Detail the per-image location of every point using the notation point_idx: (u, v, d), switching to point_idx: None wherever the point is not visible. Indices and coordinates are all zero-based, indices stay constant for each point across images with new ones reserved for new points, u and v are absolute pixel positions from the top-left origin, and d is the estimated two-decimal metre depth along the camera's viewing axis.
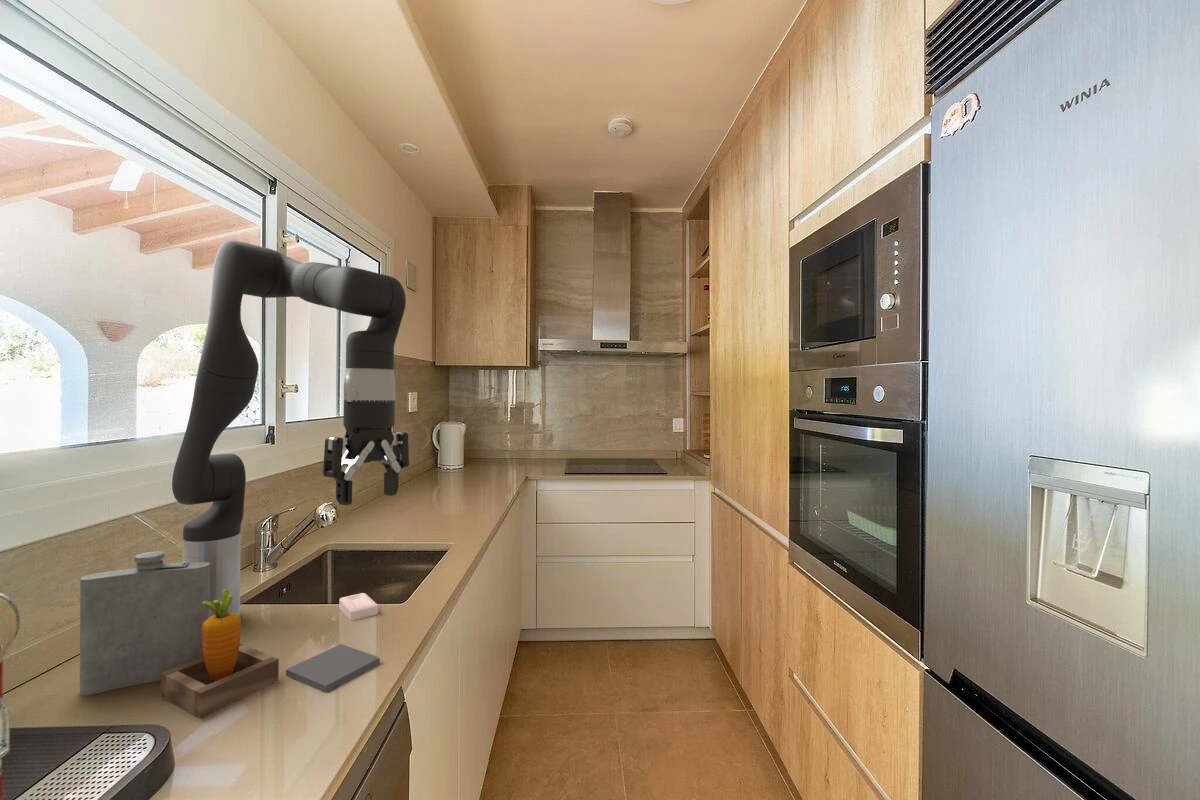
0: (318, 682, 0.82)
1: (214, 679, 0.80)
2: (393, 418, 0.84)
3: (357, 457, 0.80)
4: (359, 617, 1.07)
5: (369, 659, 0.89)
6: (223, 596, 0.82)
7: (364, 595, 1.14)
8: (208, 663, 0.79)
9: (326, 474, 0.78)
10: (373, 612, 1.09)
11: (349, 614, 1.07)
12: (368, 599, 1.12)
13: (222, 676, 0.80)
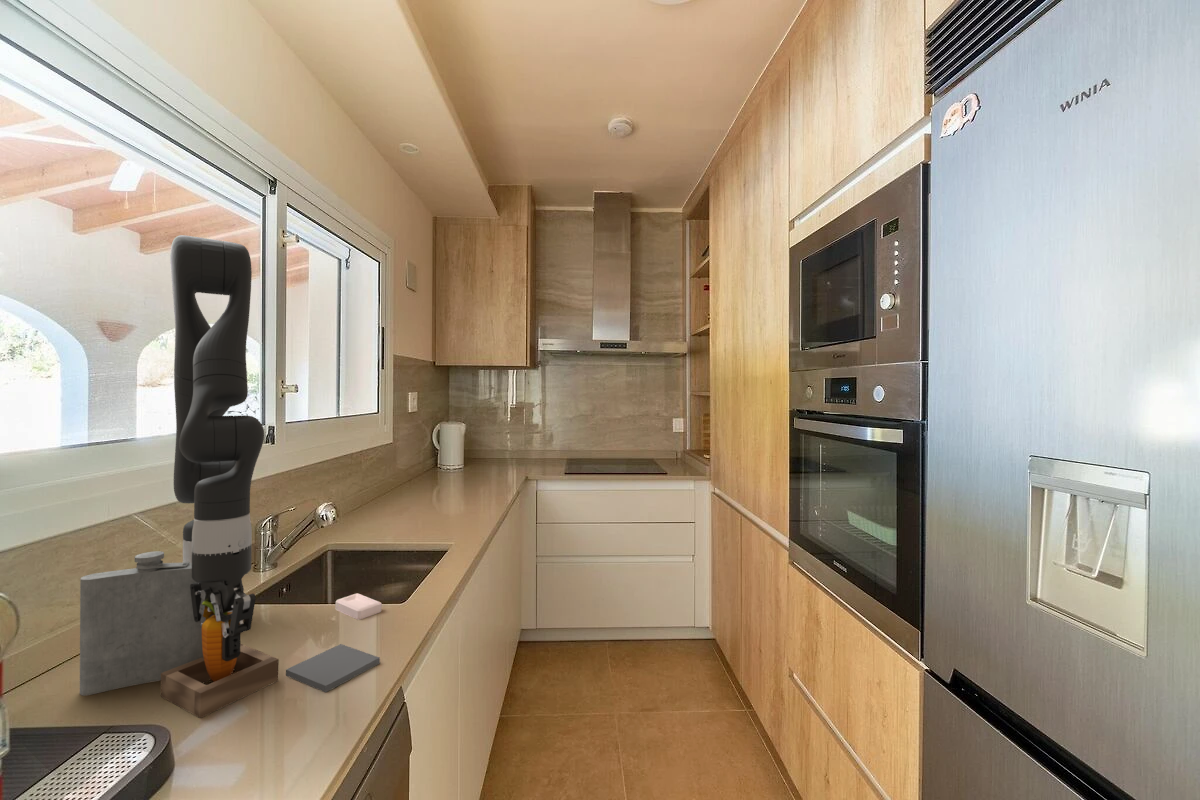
0: (318, 682, 0.82)
1: (214, 679, 0.80)
2: None
3: None
4: (365, 616, 1.08)
5: (369, 659, 0.89)
6: None
7: (360, 595, 1.14)
8: (208, 663, 0.79)
9: (238, 632, 0.78)
10: (377, 610, 1.10)
11: (355, 614, 1.07)
12: (368, 598, 1.13)
13: (222, 676, 0.80)
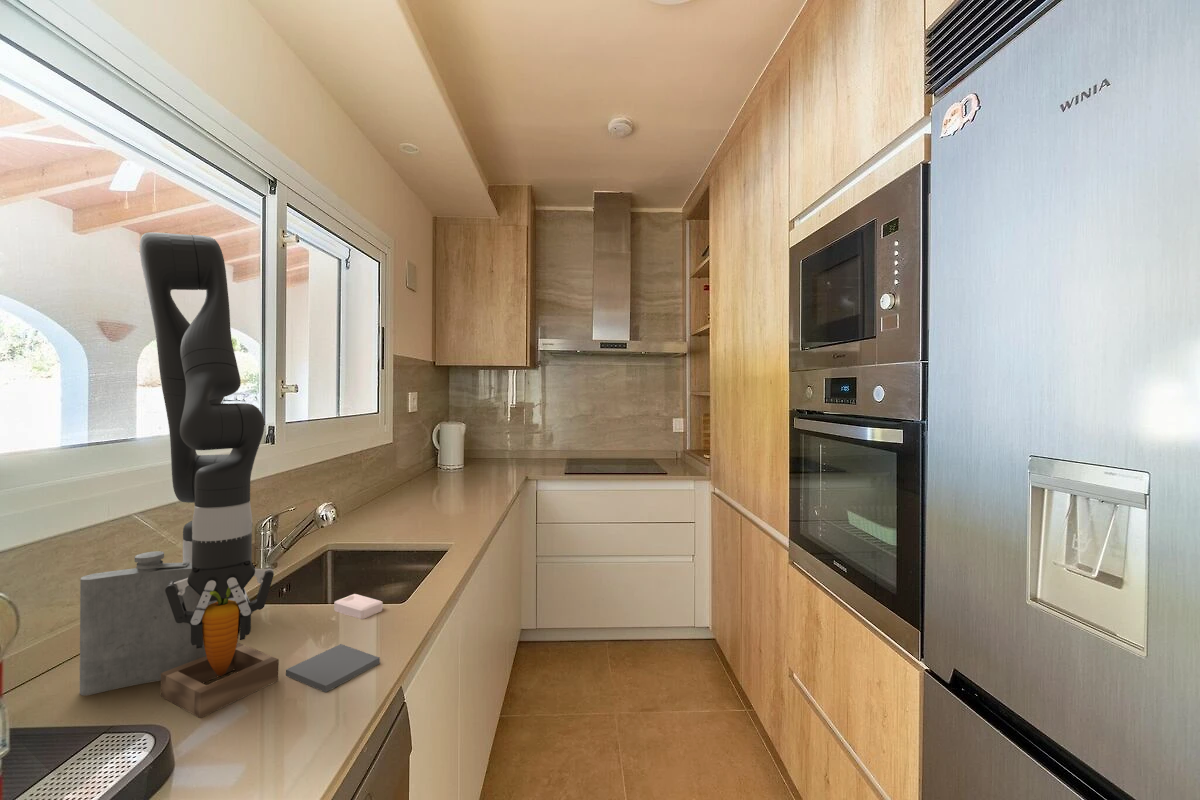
0: (318, 682, 0.82)
1: (225, 664, 0.81)
2: None
3: None
4: (368, 615, 1.08)
5: (369, 659, 0.89)
6: None
7: (359, 595, 1.14)
8: (224, 649, 0.80)
9: None
10: (379, 609, 1.11)
11: (357, 613, 1.08)
12: (367, 598, 1.13)
13: (231, 659, 0.82)
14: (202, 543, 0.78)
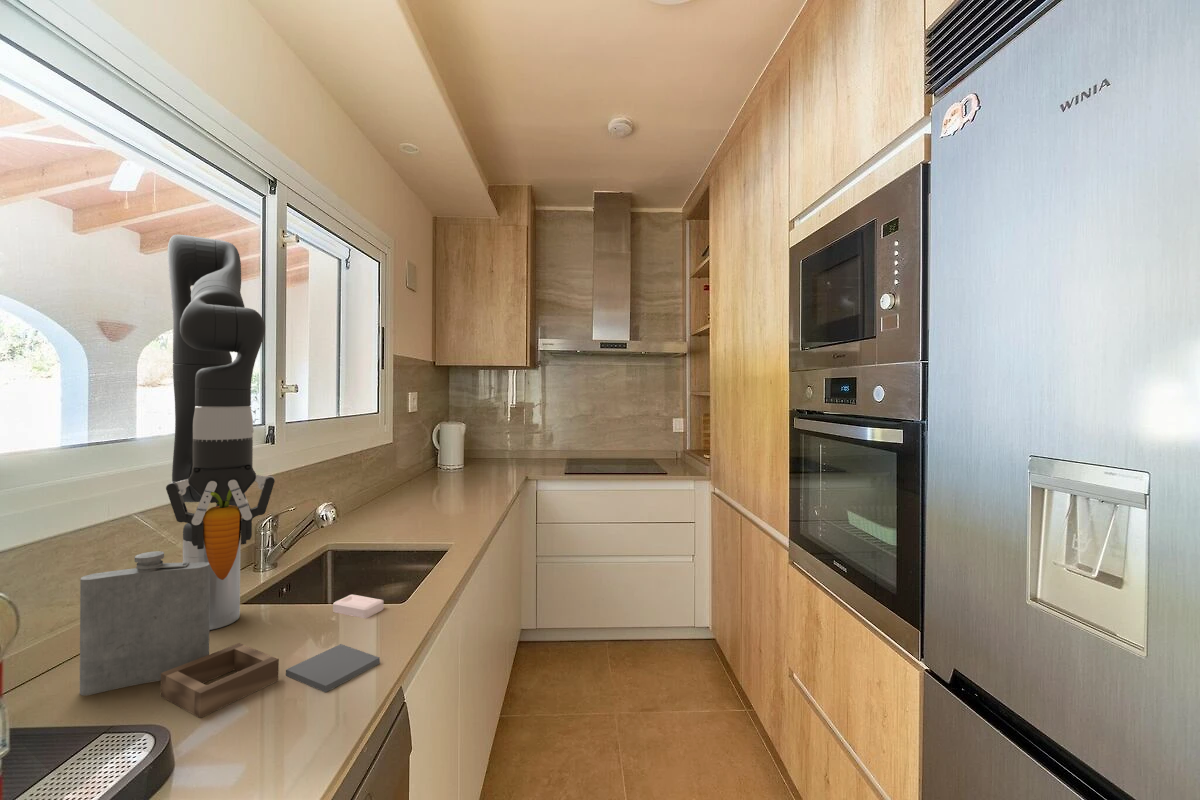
0: (318, 682, 0.82)
1: (226, 567, 0.81)
2: None
3: (244, 494, 0.84)
4: (371, 614, 1.09)
5: (369, 659, 0.89)
6: None
7: (357, 595, 1.14)
8: (225, 551, 0.80)
9: None
10: (381, 607, 1.11)
11: (360, 613, 1.08)
12: (367, 597, 1.13)
13: None
14: (203, 442, 0.77)
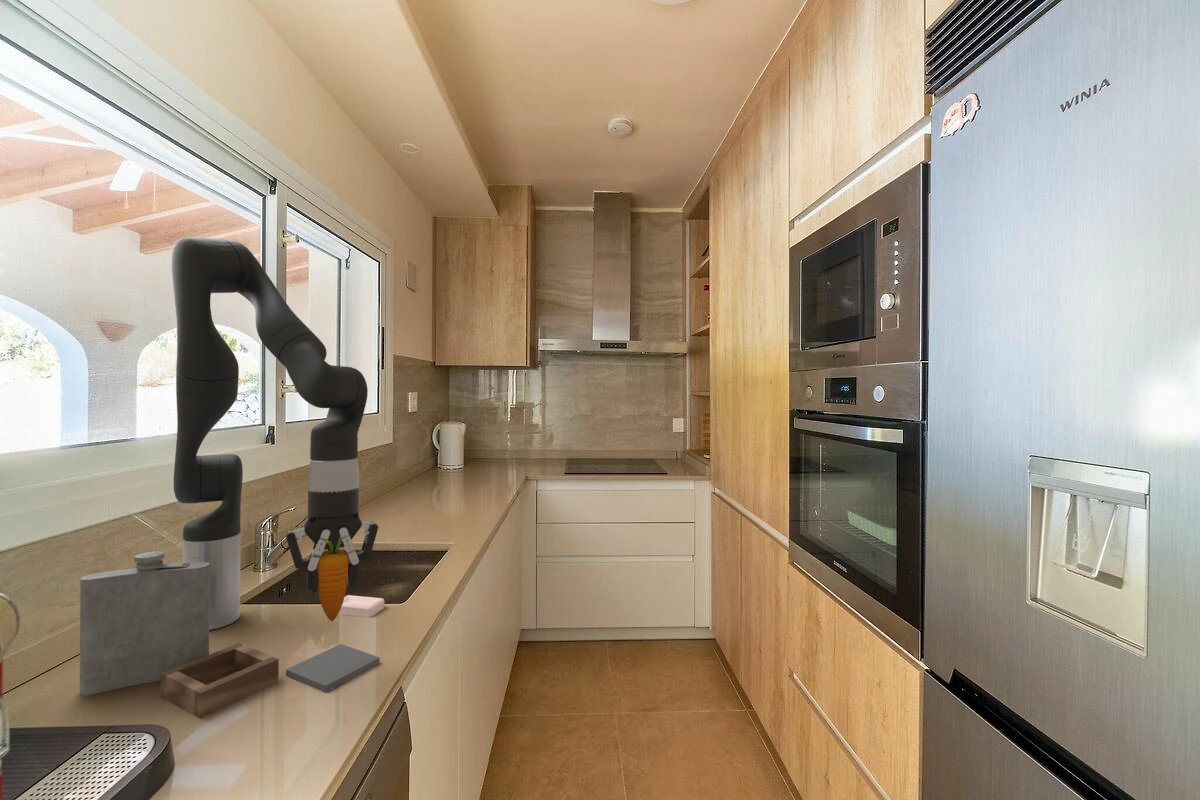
0: (318, 682, 0.82)
1: (336, 610, 0.86)
2: None
3: None
4: (374, 612, 1.09)
5: (369, 659, 0.89)
6: None
7: (354, 596, 1.14)
8: (336, 594, 0.86)
9: None
10: (382, 606, 1.12)
11: (364, 612, 1.08)
12: (366, 597, 1.13)
13: (341, 605, 0.87)
14: (319, 494, 0.83)
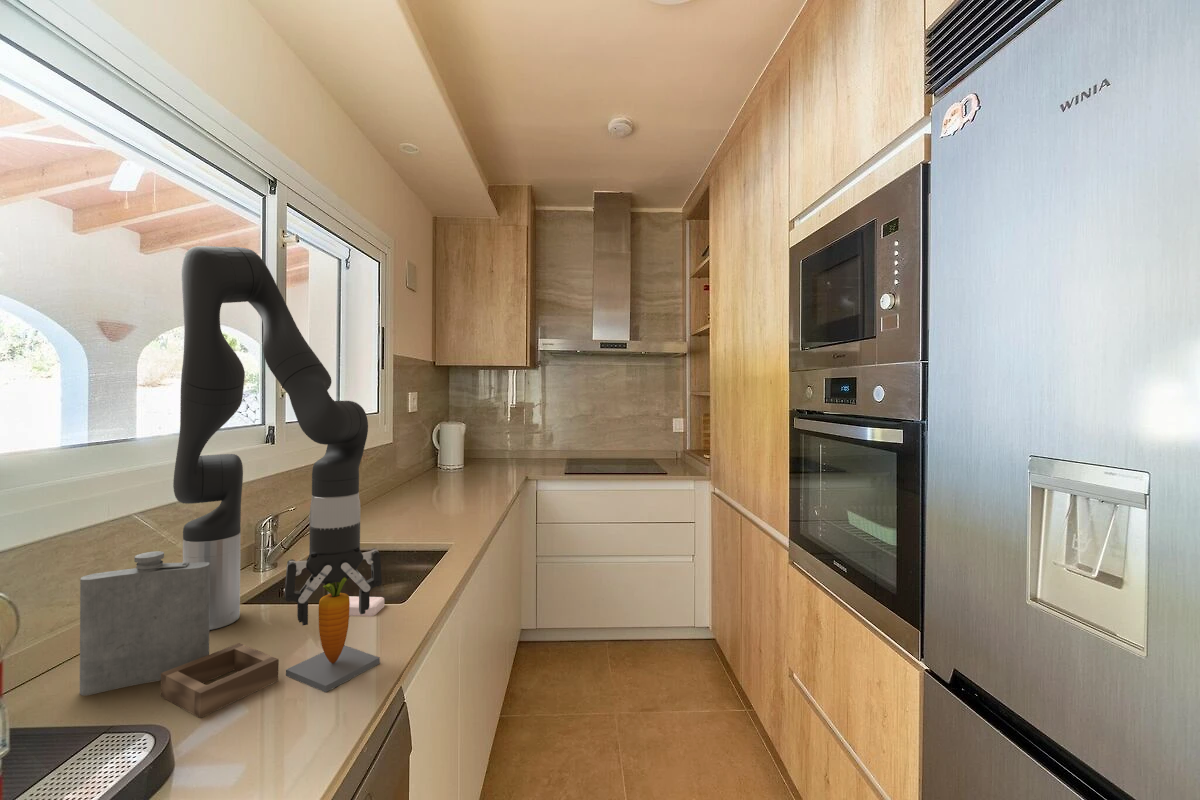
0: (318, 682, 0.82)
1: (338, 652, 0.87)
2: None
3: (355, 569, 0.90)
4: (377, 611, 1.10)
5: (369, 659, 0.89)
6: None
7: (352, 596, 1.13)
8: (338, 638, 0.86)
9: None
10: (382, 604, 1.13)
11: (367, 611, 1.09)
12: None
13: (342, 647, 0.88)
14: (321, 530, 0.84)
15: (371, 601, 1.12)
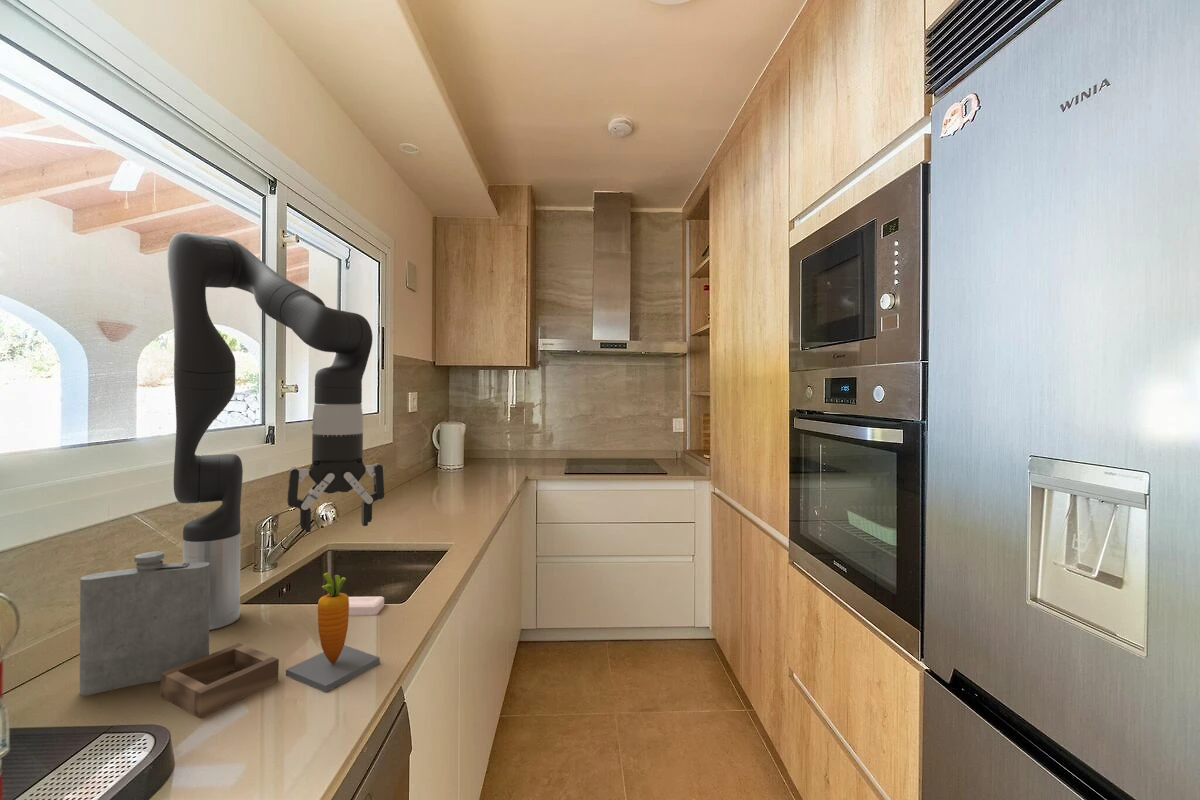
0: (318, 682, 0.82)
1: (337, 652, 0.87)
2: None
3: None
4: (378, 610, 1.11)
5: (369, 659, 0.89)
6: (329, 578, 0.88)
7: (351, 597, 1.13)
8: (337, 638, 0.86)
9: None
10: (383, 604, 1.13)
11: (369, 611, 1.09)
12: (364, 597, 1.13)
13: (342, 647, 0.88)
14: (324, 437, 0.83)
15: (371, 601, 1.12)
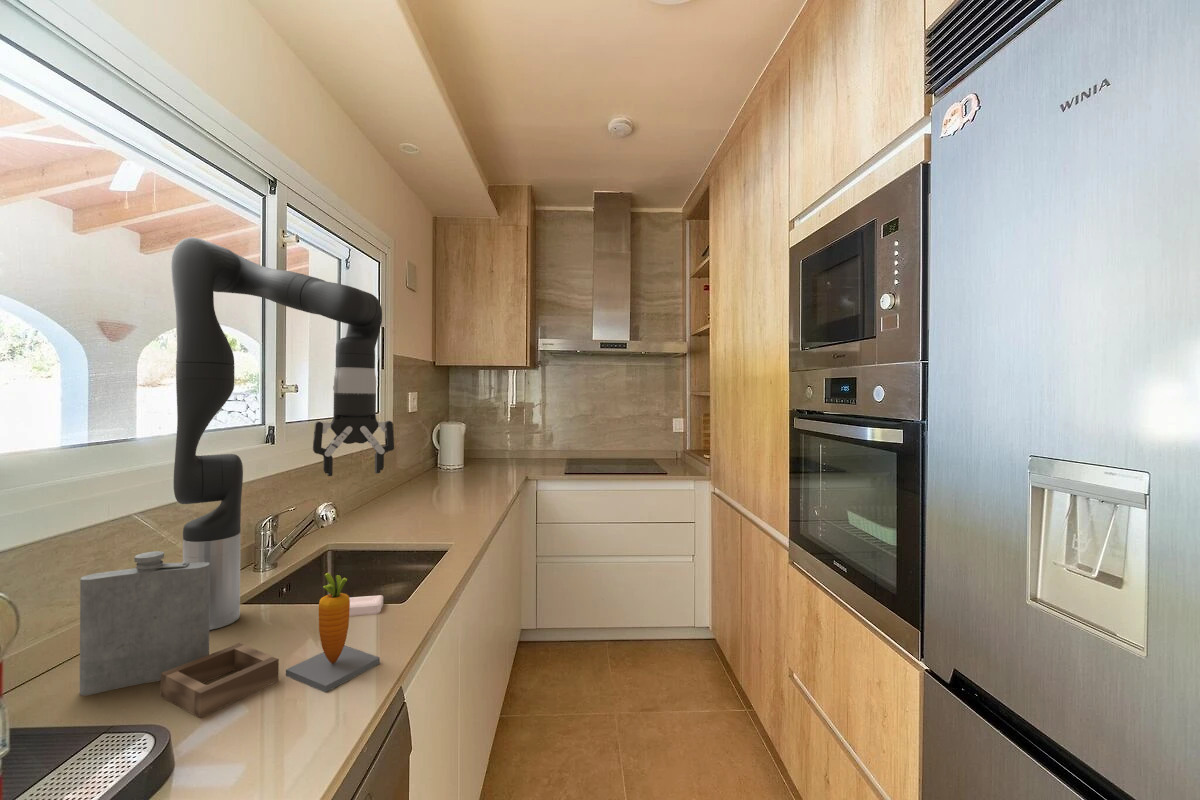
0: (318, 682, 0.82)
1: (338, 653, 0.87)
2: None
3: None
4: (380, 609, 1.11)
5: (369, 659, 0.89)
6: (330, 579, 0.87)
7: (349, 598, 1.13)
8: (338, 638, 0.86)
9: None
10: (382, 602, 1.14)
11: (372, 609, 1.10)
12: (363, 597, 1.13)
13: (342, 648, 0.88)
14: (344, 394, 0.99)
15: (371, 600, 1.13)
